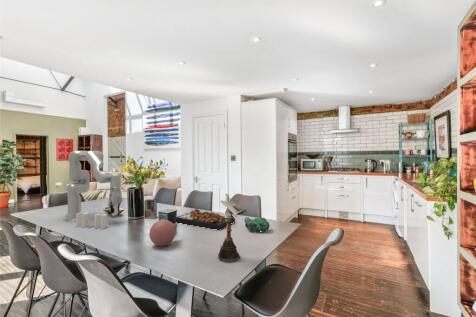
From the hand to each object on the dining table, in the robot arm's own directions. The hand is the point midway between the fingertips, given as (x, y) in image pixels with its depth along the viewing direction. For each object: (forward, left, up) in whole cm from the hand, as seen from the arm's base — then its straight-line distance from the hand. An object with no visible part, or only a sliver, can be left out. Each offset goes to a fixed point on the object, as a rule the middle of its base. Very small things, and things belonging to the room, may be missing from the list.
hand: (114, 211), depth 190 cm
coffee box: (+17, +24, -10) cm, 31 cm away
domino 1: (-21, -13, -9) cm, 26 cm away
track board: (-10, -13, -10) cm, 19 cm away
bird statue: (+107, -42, -10) cm, 116 cm away
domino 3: (-4, -13, -9) cm, 16 cm away
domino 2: (-15, -13, -9) cm, 22 cm away
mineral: (+114, +8, -10) cm, 114 cm away
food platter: (+68, +21, -11) cm, 72 cm away
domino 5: (0, 0, -3) cm, 3 cm away
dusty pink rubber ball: (+62, -31, -10) cm, 69 cm away
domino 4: (+1, -13, -9) cm, 16 cm away
